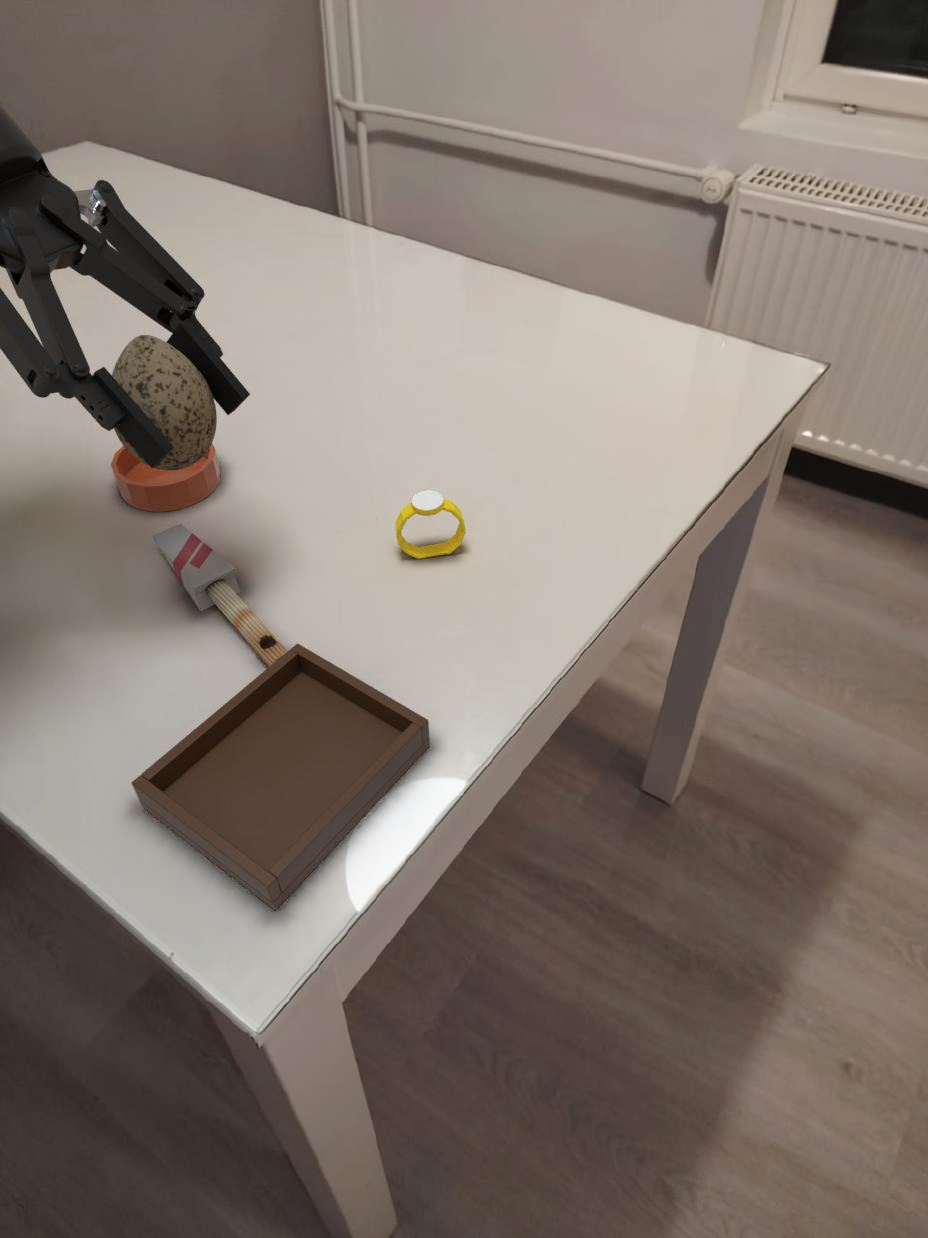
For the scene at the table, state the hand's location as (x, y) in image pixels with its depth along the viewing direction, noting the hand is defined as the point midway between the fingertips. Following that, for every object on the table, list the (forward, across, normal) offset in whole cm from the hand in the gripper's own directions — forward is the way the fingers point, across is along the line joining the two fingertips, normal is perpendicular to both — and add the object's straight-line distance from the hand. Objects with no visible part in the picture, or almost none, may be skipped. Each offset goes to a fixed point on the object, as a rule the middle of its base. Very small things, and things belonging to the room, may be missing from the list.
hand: (202, 429), depth 61 cm
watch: (+19, -14, -5) cm, 24 cm away
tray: (+22, +12, -2) cm, 25 cm away
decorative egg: (0, 0, -5) cm, 5 cm away
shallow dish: (-1, -10, -25) cm, 27 cm away
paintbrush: (+11, 0, -14) cm, 18 cm away
